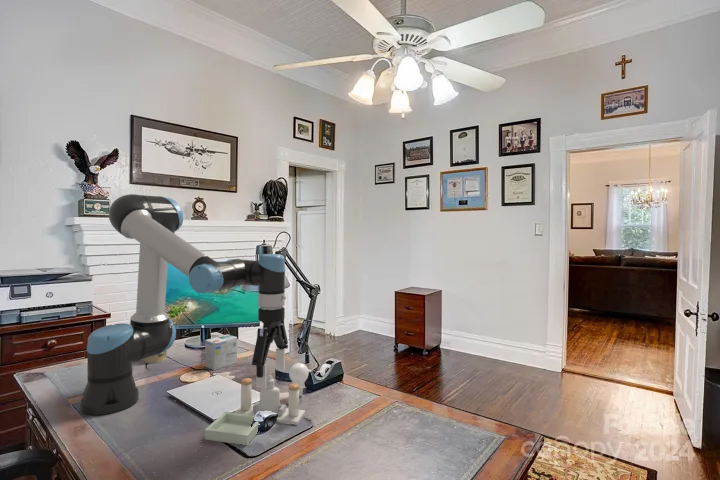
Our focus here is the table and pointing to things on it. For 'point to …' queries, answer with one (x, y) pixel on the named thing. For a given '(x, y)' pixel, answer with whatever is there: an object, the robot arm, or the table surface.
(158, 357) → the coffee cup
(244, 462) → the table surface
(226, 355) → the light bulb box
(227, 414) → the tray
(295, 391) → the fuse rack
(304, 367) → the lightbulb
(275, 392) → the eye dropper bottle
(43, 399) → the table surface
